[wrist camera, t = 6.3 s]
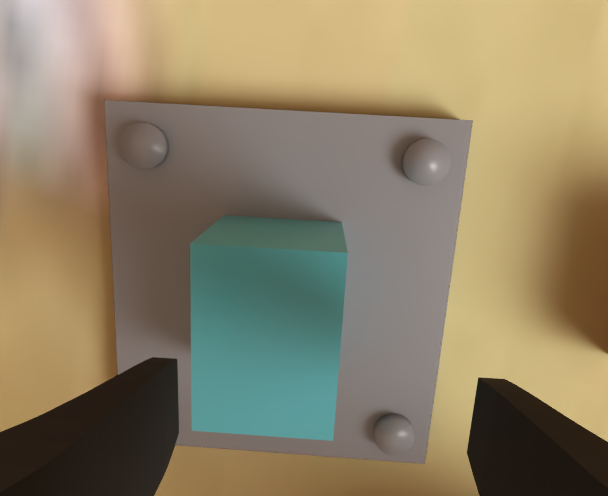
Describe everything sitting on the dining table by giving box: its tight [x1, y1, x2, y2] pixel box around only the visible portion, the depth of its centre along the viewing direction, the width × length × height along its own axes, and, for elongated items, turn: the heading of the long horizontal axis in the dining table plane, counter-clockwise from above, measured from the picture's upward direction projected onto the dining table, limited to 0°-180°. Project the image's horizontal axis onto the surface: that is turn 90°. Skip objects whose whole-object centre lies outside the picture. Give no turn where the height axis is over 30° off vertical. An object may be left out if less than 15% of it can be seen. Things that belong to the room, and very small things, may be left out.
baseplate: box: [104, 100, 473, 464], centre depth 18 cm, size 14×13×2 cm
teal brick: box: [190, 215, 348, 441], centre depth 16 cm, size 6×4×4 cm
